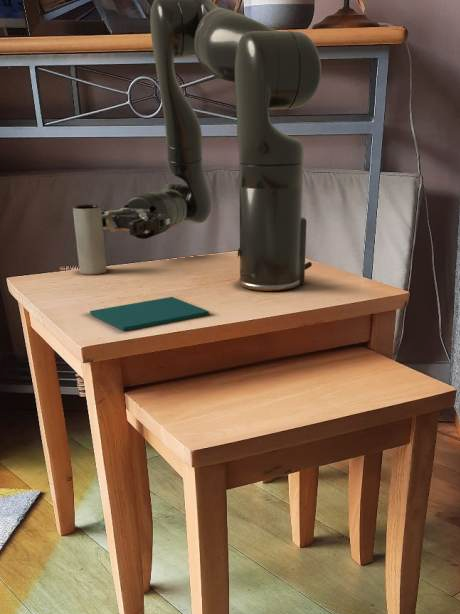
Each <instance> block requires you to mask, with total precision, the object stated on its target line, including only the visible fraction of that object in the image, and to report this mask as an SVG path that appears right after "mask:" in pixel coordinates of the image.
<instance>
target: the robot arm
mask: <svg viewBox="0 0 460 614" xmlns="http://www.w3.org/2000/svg"><path fill="white" fill-rule="evenodd" d="M149 21H150V22H149V23H150V35H151V44H152V51H153V57H154V64H155V70H156V76H157V83H158V89H159V94H160V99H161V105H162V111H163V118H164V127H165V144H166V163H167V170H168V171H169V173H171V175H173V176H174V177H177V178H178V179H181V180H182V181H184V182H185V183H181V182H168V183H166V184H165V185H164V186H163V187H162V189H161V190H158V191H150V192H149V191H148V192H145V193H142V194H138V195H135V196H132V197H131V198H129V199H128V200H127V201H126V202H125V203H124V204H125V205H124V206H123V207H121V208H119V209H113V210H107V209H103V210H101V212H102V223H103V231H105V230H106V231H107V232H110V233H112V232H113V233H115V232H124V233H127V232H128V233H129V235H130V236H133V237H135V238H137V239H142V240H145V239H146V240H147V239H149V238H152V237H154V236H158V235H160V234H162V233H164V232H166V231H168V230H169V229H172V228H174V227H177V226H179V225H180V224H181V223H183V222H189V223H194V224H203V223H204V222H206V221H207V220H208V218H209V217H210V215H211V212H212V207H213V201H212V200H213V199H212V194H211V190H210V187H209V183H208V180H207V177H206V172H205V169H204V164H203V135H202V133H203V132H202V126H201V123H200V120H199V118H198V115H197V114H196V112H195V111H194V108H193V106H192V105H191V104H190V102H189V101H188V98H187V97H186V96H185V94H184V92H183V90H182V88H181V86H180V83H179V82H178V78H177V75H176V71H175V59H183V58H191V57H196V59H197V61H198V63H199V65H201V67H202V68H203V69H204V70H205V71H206V72H207V73H209V74H210V75H212V76H214V77H216V78H217V79H218V80H221V81H224V82H226V83H230V84H234V92H235V109H236V110H235V111H236V136H237V143H238V144H237V145H238V157H239V158H238V160H239V161H238V162H239V166H238V167H239V168H238V169H239V171H238V172H239V177H238V178H239V248H238V249H237V258H239V279H238V282H239V283H238V285H239V286H240V287H242V288H245V289H248V290H253V291H261V292H262V291H263V292H272V291H273V292H274V291H275V292H276V291H284V290H285V291H286V290H291V289H295V288H297V287H298V286H300V285H303V284H305V275H306V274H305V273H306V270H308V269H310V268H311V267H312V266H313V265H312V264H313V263H312V262H311V261H308V262H306V249H307V247H306V246H307V222H308V221H307V219H306V218H305V217H302V212H303V210H302V209H303V180H304V179H303V177H304V143H303V142H302V141H301V140H300V139H298V138H296V137H293V136H290V135H288V134H286V133H283V132H282V131H280V130H279V129H278V128H277V127H275V125H274V124H272V122H271V119H270V113H269V110H292V109H293V110H294V109H297V108H301V107H303V106H305V105H307V104H308V103H309V102H310V101H311V100H312V99H313V97H314V96H315V95H316V93H317V92H318V90H319V87H320V82H321V79H322V63H321V57H320V53H319V51H318V49H317V46H316V45H315V43H314V41H313V40H312V39H311V38H310V36H308V35H307V34H306V33H303V32H301V31H292V30H291V31H290V30H288V31H287V30H276V29H274V28H272V27H270V26H267V25H266V24H264V23H261V22H260V21H257V20H255V19H253V18H250V17H248V16H246V15H245V14H243V13H240V12H237V11H234V10H231V9H228V8H224V7H220V6H218V4H216V3H215V2H213V1H212V0H153V2H152V4H151V8H150V17H149ZM113 224H114V225H115V226H116V227H114V225H113Z"/></svg>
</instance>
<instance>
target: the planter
mask: <svg viewBox="0 0 460 614" xmlns="http://www.w3.org/2000/svg"><path fill="white" fill-rule="evenodd" d="M101 211H102V206H101V205H99V204H78V205H74V206H72V214H73V222H74V233H75V242H76V250H77V251H76V252H77V261H78V268H79V269H78V270H79V273H80V274H82V275H101V274H105V273H107V271H108V267H107V257H106V249H105V248H106V247H105V236H104V230H103V223H102V212H101Z"/></svg>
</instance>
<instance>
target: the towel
mask: <svg viewBox="0 0 460 614" xmlns="http://www.w3.org/2000/svg"><path fill="white" fill-rule="evenodd" d="M89 314H90V315H91V316H93V317H95V318H96V319H99V320H101V321H103V322H105V323H107V324H109V325H110V326H112V327H115V328H116V329H118V330H121V331H122V332H126V331H133V330H136V329H142V328H147V327H152V326H157V325H164V324H168V323H174V322H179V321H183V320H190V319H195V318H199V317H204V316H209V315H210V311H209V310H206V309H204V308H201V307H200V306H197V305H194V304H191V303H189V302H186V301H184V300H181V299H178V298H176V297H174V296H169V297H168V296H167V297H161V298H157V299H151V300H146V301H145V300H144V301H140V302H134V303H129V304H128V303H127V304H122V305H116V306H111V307H105V308H99V309H93V310H89Z"/></svg>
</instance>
